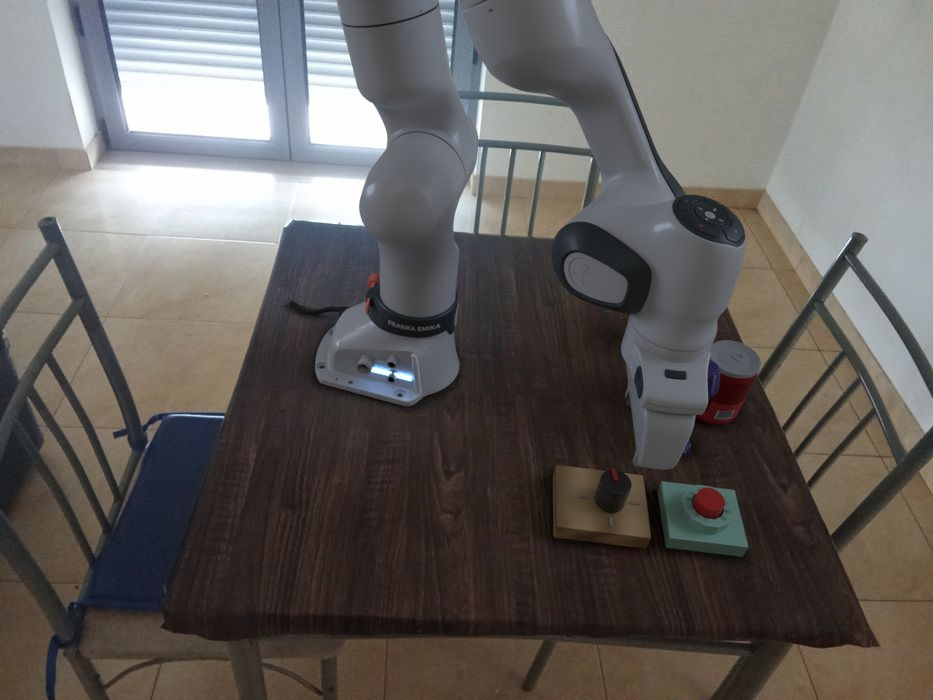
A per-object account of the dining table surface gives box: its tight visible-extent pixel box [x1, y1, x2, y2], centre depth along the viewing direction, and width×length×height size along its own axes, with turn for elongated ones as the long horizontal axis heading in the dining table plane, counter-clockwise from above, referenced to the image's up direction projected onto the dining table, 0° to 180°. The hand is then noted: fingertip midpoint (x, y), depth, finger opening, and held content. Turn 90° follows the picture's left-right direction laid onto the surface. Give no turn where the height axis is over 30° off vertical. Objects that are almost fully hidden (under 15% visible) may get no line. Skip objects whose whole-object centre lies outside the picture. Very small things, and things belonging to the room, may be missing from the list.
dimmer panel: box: [552, 464, 652, 549], centre depth 94 cm, size 12×10×3 cm
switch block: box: [657, 480, 749, 558], centre depth 94 cm, size 10×9×4 cm
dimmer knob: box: [594, 467, 632, 513], centre depth 92 cm, size 4×4×4 cm
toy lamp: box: [680, 360, 720, 458], centre depth 99 cm, size 5×5×17 cm
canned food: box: [695, 339, 762, 426], centre depth 108 cm, size 8×8×11 cm
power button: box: [693, 488, 725, 518], centre depth 92 cm, size 4×4×2 cm
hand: (635, 431), depth 85 cm, fingers open, 8 cm apart
